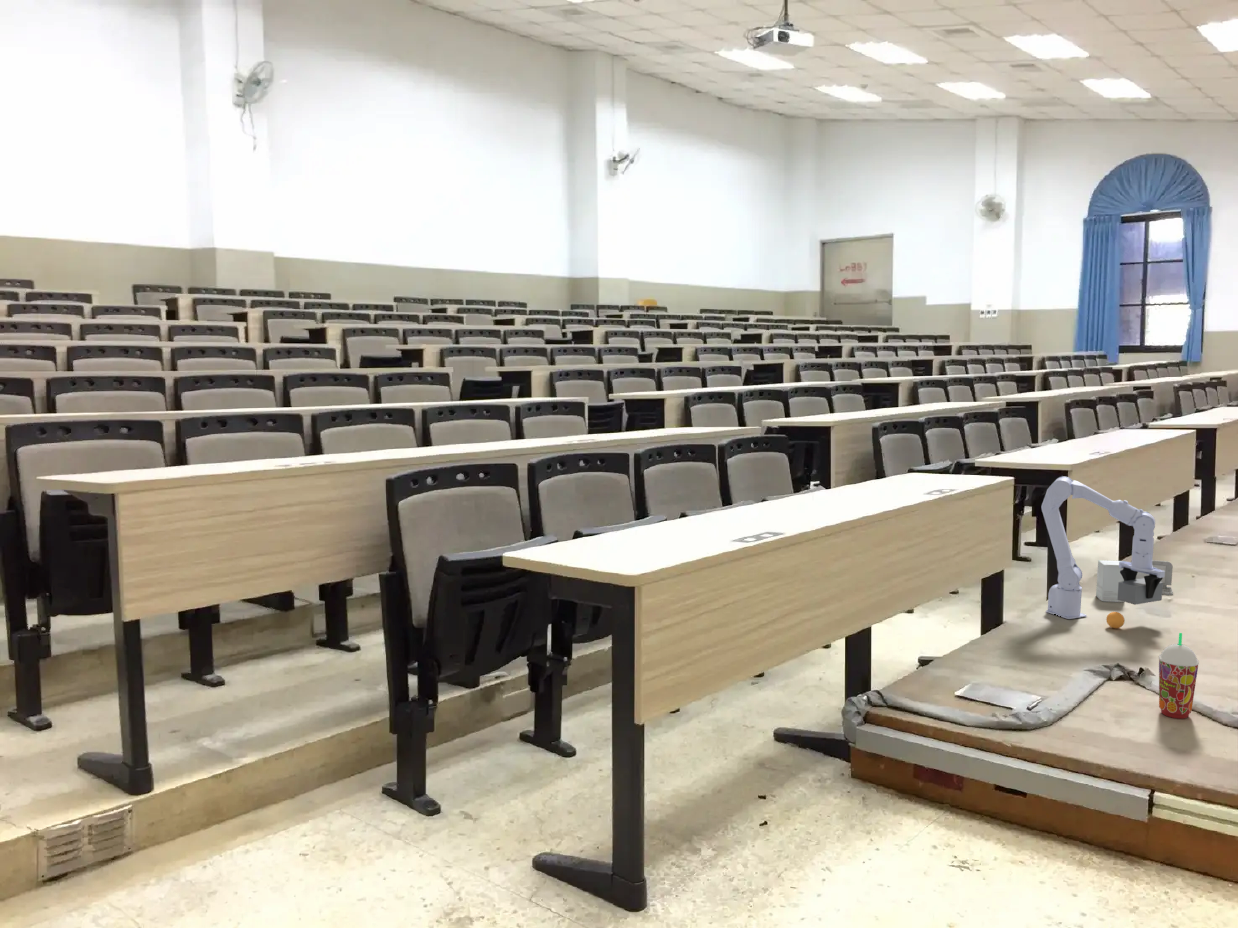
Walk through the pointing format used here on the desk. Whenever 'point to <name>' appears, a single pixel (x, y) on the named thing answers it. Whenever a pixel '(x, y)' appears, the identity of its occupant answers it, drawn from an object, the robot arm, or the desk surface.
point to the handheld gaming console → (1166, 579)
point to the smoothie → (1177, 680)
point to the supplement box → (1108, 580)
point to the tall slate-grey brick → (1137, 592)
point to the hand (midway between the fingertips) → (1139, 595)
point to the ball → (1115, 620)
